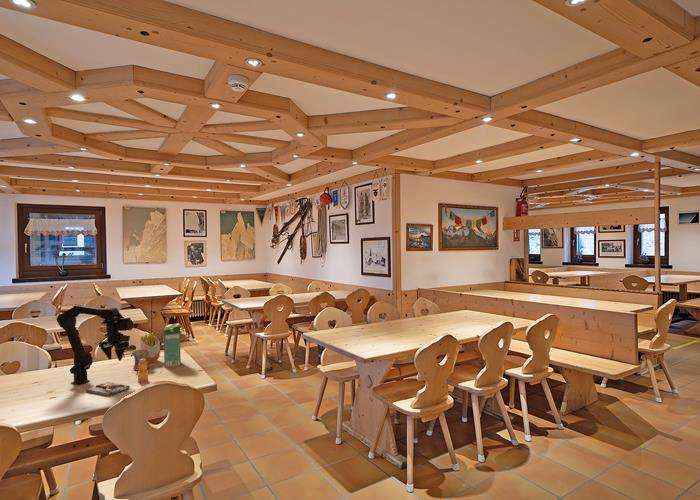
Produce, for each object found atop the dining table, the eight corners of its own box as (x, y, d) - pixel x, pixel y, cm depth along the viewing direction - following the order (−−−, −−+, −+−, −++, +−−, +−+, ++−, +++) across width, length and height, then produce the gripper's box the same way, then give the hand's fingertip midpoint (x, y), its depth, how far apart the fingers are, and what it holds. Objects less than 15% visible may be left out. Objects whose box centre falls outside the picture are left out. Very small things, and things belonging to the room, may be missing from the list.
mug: (128, 370, 245) (128, 352, 245) (141, 365, 254) (140, 348, 253) (144, 372, 241) (144, 354, 241) (156, 367, 250) (156, 350, 250)
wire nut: (135, 381, 224) (135, 360, 224) (143, 379, 229) (143, 357, 229) (142, 383, 223) (142, 361, 222) (150, 380, 227) (149, 358, 227)
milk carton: (164, 363, 258) (163, 324, 257) (179, 361, 262) (179, 322, 261) (164, 367, 250) (163, 326, 249) (180, 365, 254) (180, 325, 253)
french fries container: (160, 360, 265) (159, 332, 265) (145, 365, 255) (145, 336, 255) (155, 359, 267) (154, 332, 267) (140, 364, 257) (140, 335, 257)
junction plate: (86, 392, 209) (86, 387, 209) (107, 384, 220) (107, 379, 220) (112, 397, 202) (112, 392, 202) (133, 389, 214) (133, 384, 214)
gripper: (137, 328, 225) (139, 357, 225) (116, 327, 234) (119, 354, 234) (117, 333, 215) (119, 363, 216) (96, 332, 224) (99, 360, 225)
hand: (115, 360), depth 223 cm, fingers open, 9 cm apart
